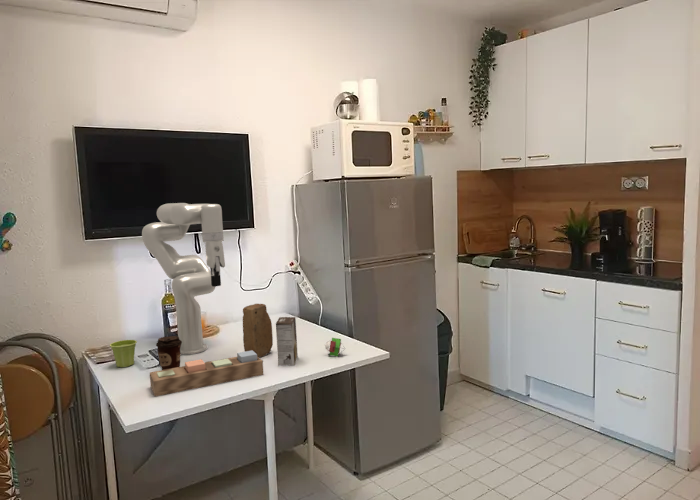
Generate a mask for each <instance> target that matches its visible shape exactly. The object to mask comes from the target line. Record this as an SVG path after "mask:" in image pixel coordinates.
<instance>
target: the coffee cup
mask: <svg viewBox="0 0 700 500" xmlns="http://www.w3.org/2000/svg"><path fill="white" fill-rule="evenodd" d="M181 344H182V341H181V340H180V339H179V337H178V335H170V336H169V335H168V336H162V337H159V338H158V339H157V342H156V343H155V346H156V347H157V354H158V359H159V365H160V368H161V370H166V369H171V368H177V367H181V355H182V354H181V352H180V348H181Z"/></svg>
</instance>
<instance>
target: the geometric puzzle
mask: <svg viewBox="0 0 700 500" xmlns="http://www.w3.org/2000/svg"><path fill="white" fill-rule="evenodd" d="M341 345H342V346H343V347H342V349H343V350H341ZM324 348H325V350H326V351H327V352H328V356H333V357H339V354H340V353H343V351H344V350H346V348H345V346H344V345H343V343H342V338H336V337H331V340H329V341H327V342H326V343H325V344H324ZM340 351H341V352H340Z"/></svg>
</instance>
